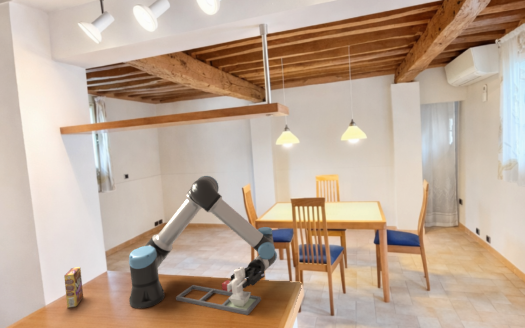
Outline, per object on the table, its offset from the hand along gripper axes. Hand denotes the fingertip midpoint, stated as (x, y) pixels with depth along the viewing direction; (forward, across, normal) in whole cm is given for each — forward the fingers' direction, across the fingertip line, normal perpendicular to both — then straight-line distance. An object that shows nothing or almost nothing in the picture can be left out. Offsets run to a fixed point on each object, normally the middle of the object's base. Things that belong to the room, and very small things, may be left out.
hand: (232, 289), depth 127 cm
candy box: (+18, +76, -10) cm, 79 cm away
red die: (-14, +12, -10) cm, 21 cm away
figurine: (-6, 0, -9) cm, 11 cm away
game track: (-5, +12, -10) cm, 16 cm away
